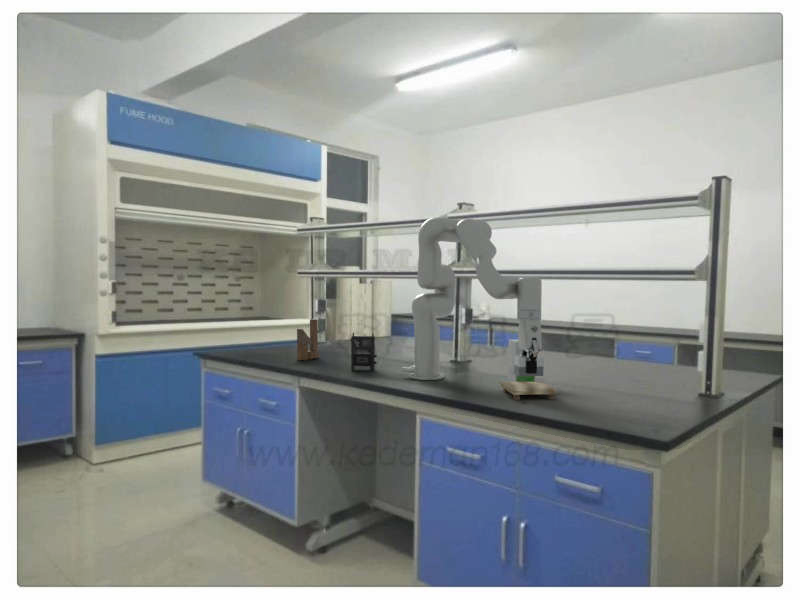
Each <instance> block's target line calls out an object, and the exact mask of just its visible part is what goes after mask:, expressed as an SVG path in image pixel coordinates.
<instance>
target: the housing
mask: <svg viewBox="0 0 800 600" xmlns="http://www.w3.org/2000/svg"><path fill="white" fill-rule="evenodd" d="M544 359H545V358H544V356H541V355H539V354H538V356H537V373H536V374H528V373H526V365H527V361H528V358H527V355H514V374H516V375H517V376H536V377H544V366H545V365H544V363H545V362H544V361H545V360H544Z"/></svg>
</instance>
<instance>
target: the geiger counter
mask: <svg viewBox="0 0 800 600" xmlns="http://www.w3.org/2000/svg"><path fill="white" fill-rule="evenodd" d="M374 335H375V334H374V332H372V335H371V336H370V335H369V336H368V335H367V336H366V335H362V336H361V335H355V332H352V336H351V338H350V344H351V345H350V347H351V348H350V351H351V354H350V355H351V357H350V360H351V361H350V363H351V366H350V371H351V370H352V372H374V371H375V370H376V367H375V366H376V365H377V361H376V358H377V354H376V348H375V347H376V345H375V344H376V337H375V336H374Z"/></svg>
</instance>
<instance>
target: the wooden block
mask: <svg viewBox="0 0 800 600" xmlns="http://www.w3.org/2000/svg"><path fill="white" fill-rule="evenodd" d="M318 321H319V319H317V318H310V319H309V335H308V334H307V333H306V332H305V330H304V329H303V328H297V329H296V344H297V345H296V357H297V358H296V360H297V361H300V360H304V361H308V360H315V359H319V358H320V350H319V348H318V346H319V344H318V343H319V342H318V340H319V337H318V336H319V335H318V334H319V332H318V330H319V329H318V328H319V327H318V326H319V324H318V323H319V322H318ZM314 358H315V359H314Z"/></svg>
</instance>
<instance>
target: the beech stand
mask: <svg viewBox="0 0 800 600" xmlns="http://www.w3.org/2000/svg"><path fill="white" fill-rule="evenodd" d="M500 386H501V387H502V391H503V392H504V393H510V394H512V395H513V397H512V399H513V400H514V401H520V399H521V395H522V396H523V395H546V396H547V397H546V399H548V400H555V395H558V389H556V388H554V387H552V386H551V385H548V384H547V383H545V382H543V381H535V382H508V381H501V382H500Z"/></svg>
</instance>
